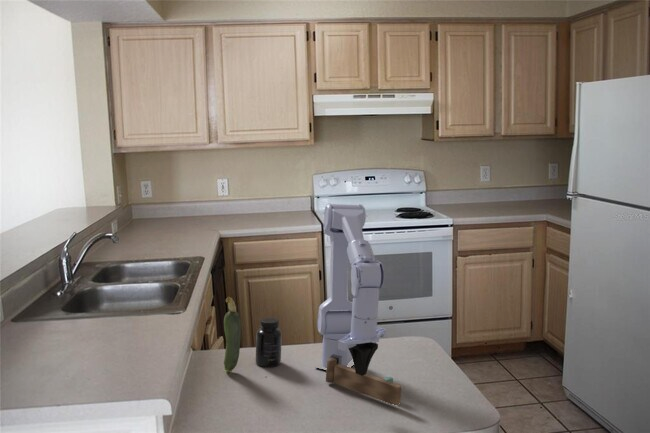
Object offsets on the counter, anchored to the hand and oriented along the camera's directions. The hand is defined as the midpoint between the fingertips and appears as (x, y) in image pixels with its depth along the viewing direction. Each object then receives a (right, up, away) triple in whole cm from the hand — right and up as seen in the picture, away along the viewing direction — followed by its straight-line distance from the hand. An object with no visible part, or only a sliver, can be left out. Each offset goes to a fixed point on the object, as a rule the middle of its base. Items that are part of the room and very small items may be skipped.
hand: (360, 373), depth 132 cm
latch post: (+7, -8, +7) cm, 13 cm away
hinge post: (-6, -6, +16) cm, 18 cm away
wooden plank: (+1, -7, +8) cm, 10 cm away
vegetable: (-32, -5, +17) cm, 37 cm away
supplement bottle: (-23, -4, +25) cm, 34 cm away
